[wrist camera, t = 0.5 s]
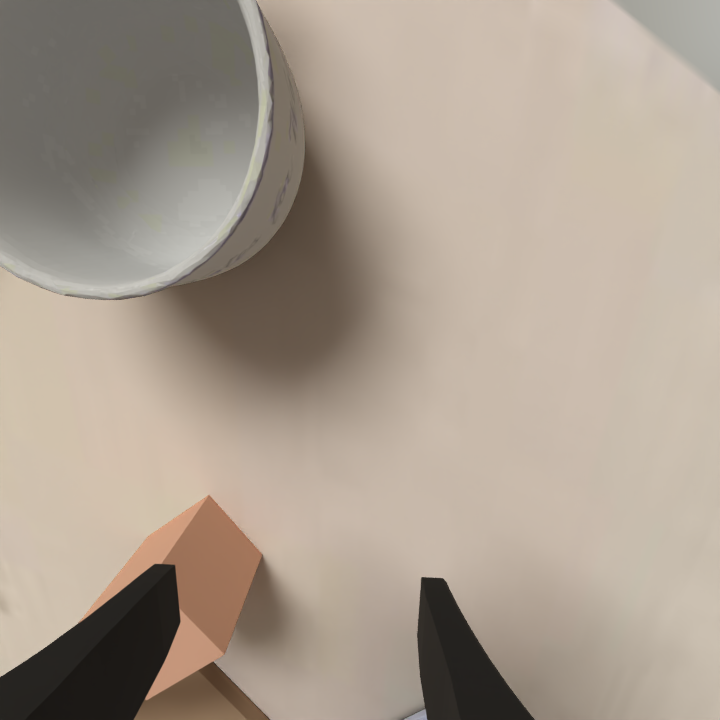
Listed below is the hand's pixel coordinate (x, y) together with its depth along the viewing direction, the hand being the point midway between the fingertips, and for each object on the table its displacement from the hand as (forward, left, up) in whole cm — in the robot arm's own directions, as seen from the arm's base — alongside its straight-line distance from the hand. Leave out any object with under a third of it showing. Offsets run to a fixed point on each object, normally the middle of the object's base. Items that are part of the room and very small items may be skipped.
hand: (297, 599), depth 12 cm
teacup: (+15, -5, -10) cm, 19 cm away
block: (-1, +9, -10) cm, 13 cm away
